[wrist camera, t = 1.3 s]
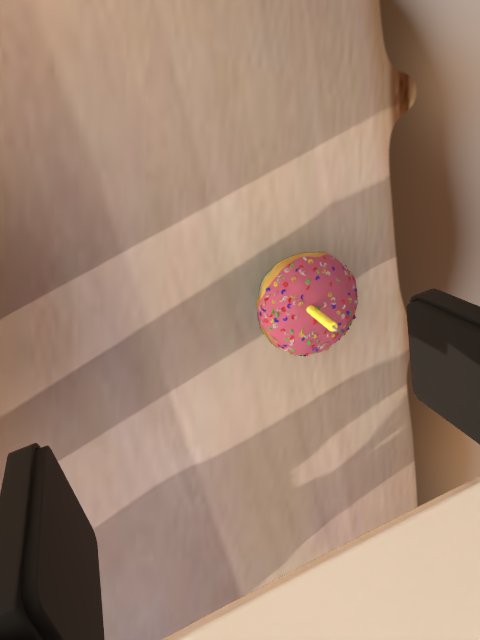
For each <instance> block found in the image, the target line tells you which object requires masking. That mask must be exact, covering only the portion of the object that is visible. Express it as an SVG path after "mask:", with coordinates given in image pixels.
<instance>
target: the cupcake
mask: <svg viewBox="0 0 480 640" xmlns="http://www.w3.org/2000/svg"><path fill="white" fill-rule="evenodd" d="M345 266H346V265H343V264H342V263H340V262H339V261H338V260H337V259H336V258H335V257H333V256H331V255H329V254H327V253H324V252H310V253H302V254H297V255H294V256H291V257H288V258H286V259H284V260H282V261H280V262H279V263H278V264H276V265H275V266H274V268H273V269H272V270H271V271H270V272H268V273H267V275H266V276H265V277H264V279H263V281H262V283H261V285H260V290H259V296H258V298H257V311H258V312H257V313H258V320H259V324H260V328H261V330H262V332H263V333H264V334H265V336H266V337H267V338H268V339H269V341H270V342H271V343H272V344H273V345H274V346H276V347H278V348H280V349H282V350H285V351H288V352H289V353H290V354H292V355H300V356H302V355H303V356H306V355H307V356H308V354H314V353H319V352H322V351H324V350H328V349H329V347H332V346H334V343H336V342H337V341H338V340H340V338H341V337H342V336H344V335H345V333H346V332H347V330H348V329H349V328H348V327H349V326H350V325H351V323H352V320H353V319H355V318H356V317H355V315H354V314H355V311H356V307H357V304H358V300H357V288H356V281H355V278H354V276H353V275H352V273H351V271H349V270H348V269H347V266H346V267H345Z"/></svg>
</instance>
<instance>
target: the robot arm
mask: <svg viewBox="0 0 480 640" xmlns="http://www.w3.org/2000/svg"><path fill="white" fill-rule="evenodd" d="M407 322H408V335H409V347H410V360H411V372H412V385H413V391H414V393H415V395H416V396H417V398H418V399H419V400H420V401H422V402H423V403H424V404H426V405H427V406H428V407H430V408H431V409H432V410H434V411H435V412H437V413H438V414H439V415H441V416H442V417H443V418H445V419H446V420H447V421H449V422H450V423H452V424H453V425H454V426H456V427H457V428H458V429H460V430H461V431H462V432H464V433H465V434H466V435H468V436H469V437H470V438H472V439H473V440H475V441H476V442H477V443H479V444H480V307H479V306H477V305H474V304H472V303H469V302H467V301H465V300H462V299H460V298H457V297H455V296H452V295H450V294H447V293H444V292H442V291H439V290H437V289H430V290H427V291H425V292H422V293H419V294H417V295H415V296H413V297H412V298H411V300H410V303H409V304H408V305H407ZM0 640H104V627H103V614H102V601H101V587H100V574H99V560H98V547H97V540H96V536H95V533H94V530H93V528H92V526H91V524H90V522H89V520H88V519H87V517H86V515H85V513H84V511H83V509H82V507H81V505H80V503H79V501H78V500H77V498H76V496H75V494H74V492H73V490H72V488H71V486H70V484H69V482H68V481H67V479H66V477H65V475H64V473H63V471H62V469H61V467H60V465H59V463H58V461H57V460H56V458H55V456H54V454H53V452H52V450H51V449H50V447H49V446H44V447H42V448H40V446H39V445H38V444H37V443H34V444H32V445H29V446H26V447H24V448H21V449H19V450H16V451H14V452H11V453H9V454H8V457H7V462H6V468H5V473H4V478H3V483H2V489H1V494H0ZM162 640H480V476H479V477H477V478H475V479H473V480H471V481H469V482H467V483H465V484H463V485H461V486H459V487H457V488H455V489H453V490H451V491H449V492H447V493H445V494H443V495H441V496H439V497H437V498H435V499H433V500H431V501H429V502H427V503H425V504H423V505H421V506H419V507H417V508H415V509H413V510H411V511H409V512H407V513H405V514H403V515H401V516H399V517H397V518H395V519H393V520H391V521H389V522H388V523H386V524H384V525H382V526H380V527H378V528H376V529H374V530H372V531H370V532H368V533H366V534H364V535H362V536H360V537H358V538H356V539H354V540H352V541H350V542H348V543H346V544H344V545H342V546H340V547H338V548H336V549H334V550H333V551H331V552H329V553H327V554H325V555H323V556H321V557H319V558H317V559H315V560H313V561H311V562H309V563H307V564H305V565H303V566H301V567H299V568H298V569H296V570H294V571H292V572H290V573H288V574H286V575H284V576H282V577H280V578H278V579H276V580H274V581H272V582H270V583H268V584H266V585H265V586H263V587H261V588H259V589H257V590H255V591H253V592H251V593H249V594H247V595H245V596H243V597H241V598H239V599H237V600H235V601H233V602H232V603H230V604H228V605H226V606H224V607H222V608H220V609H218V610H216V611H214V612H212V613H211V614H209V615H207V616H205V617H203V618H201V619H199V620H198V621H196V622H194V623H192V624H190V625H188V626H186V627H184V628H183V629H181V630H179V631H177V632H175V633H173V634H171V635H169V636H168V637H166V638H164V639H162Z"/></svg>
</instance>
